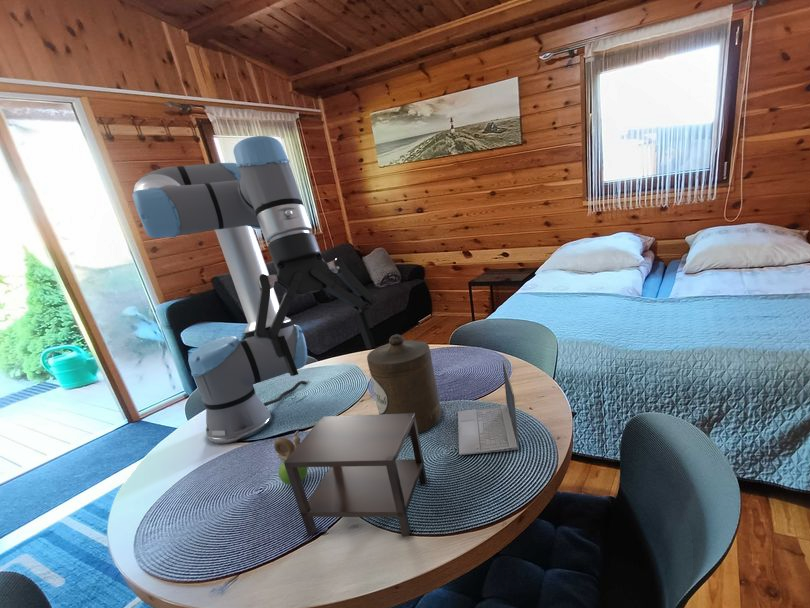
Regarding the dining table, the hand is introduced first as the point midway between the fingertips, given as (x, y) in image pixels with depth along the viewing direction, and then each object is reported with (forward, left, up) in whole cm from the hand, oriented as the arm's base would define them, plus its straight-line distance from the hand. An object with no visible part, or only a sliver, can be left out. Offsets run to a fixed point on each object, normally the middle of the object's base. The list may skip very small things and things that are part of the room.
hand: (334, 361), depth 73 cm
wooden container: (-26, +2, -27) cm, 38 cm away
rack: (+4, +2, -27) cm, 28 cm away
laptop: (-20, +21, -27) cm, 40 cm away
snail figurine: (-3, -16, -27) cm, 32 cm away
